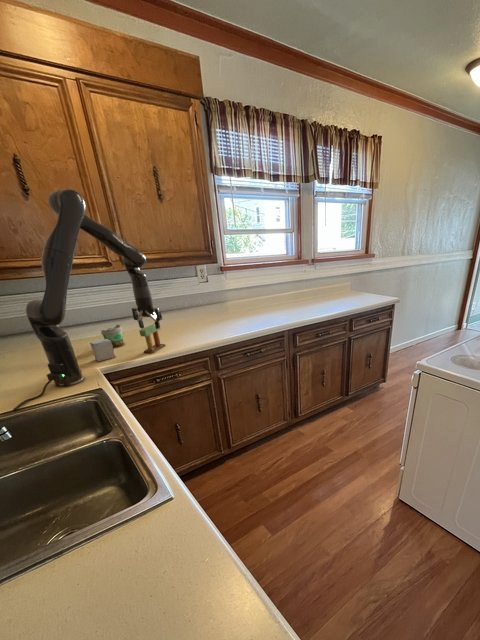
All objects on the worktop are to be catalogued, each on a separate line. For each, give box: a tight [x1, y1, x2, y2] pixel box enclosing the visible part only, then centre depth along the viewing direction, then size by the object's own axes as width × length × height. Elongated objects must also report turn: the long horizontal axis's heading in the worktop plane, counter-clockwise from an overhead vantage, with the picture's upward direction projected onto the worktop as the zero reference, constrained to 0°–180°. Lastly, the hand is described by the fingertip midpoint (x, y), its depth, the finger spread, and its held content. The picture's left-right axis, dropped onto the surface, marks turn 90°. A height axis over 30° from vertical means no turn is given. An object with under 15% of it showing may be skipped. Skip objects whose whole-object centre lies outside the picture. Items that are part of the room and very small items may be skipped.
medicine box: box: [90, 338, 116, 362], centre depth 158 cm, size 8×4×9 cm, turn 141°
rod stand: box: [143, 330, 166, 354], centre depth 170 cm, size 5×12×9 cm, turn 171°
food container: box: [100, 324, 125, 349], centre depth 175 cm, size 12×6×10 cm, turn 168°
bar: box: [139, 322, 162, 338], centre depth 167 cm, size 3×14×3 cm, turn 171°
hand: (150, 328), depth 166 cm, fingers open, 8 cm apart
